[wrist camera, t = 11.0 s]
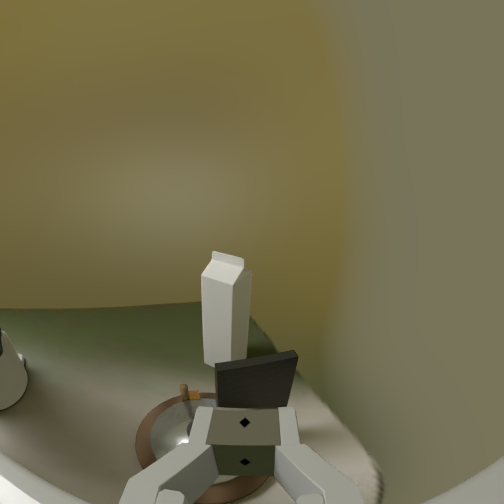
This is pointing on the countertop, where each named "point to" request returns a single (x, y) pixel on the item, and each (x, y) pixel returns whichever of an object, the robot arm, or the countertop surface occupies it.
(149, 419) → the post base
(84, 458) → the countertop surface
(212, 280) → the milk
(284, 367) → the grey finned round piece
